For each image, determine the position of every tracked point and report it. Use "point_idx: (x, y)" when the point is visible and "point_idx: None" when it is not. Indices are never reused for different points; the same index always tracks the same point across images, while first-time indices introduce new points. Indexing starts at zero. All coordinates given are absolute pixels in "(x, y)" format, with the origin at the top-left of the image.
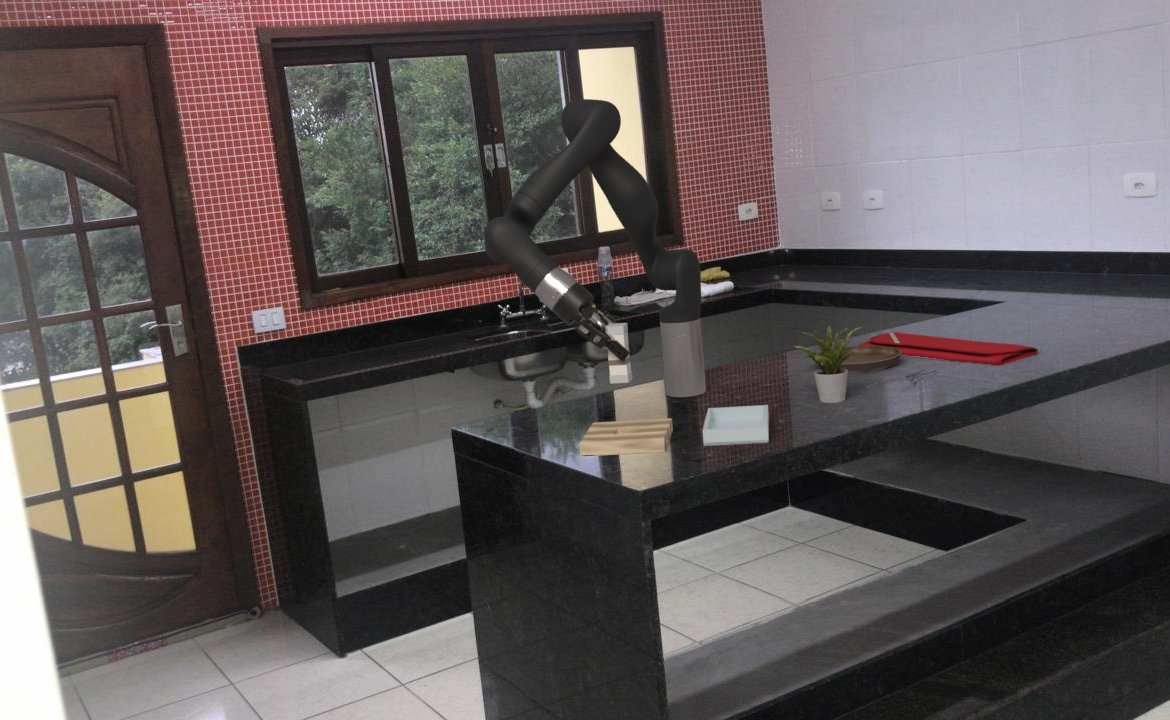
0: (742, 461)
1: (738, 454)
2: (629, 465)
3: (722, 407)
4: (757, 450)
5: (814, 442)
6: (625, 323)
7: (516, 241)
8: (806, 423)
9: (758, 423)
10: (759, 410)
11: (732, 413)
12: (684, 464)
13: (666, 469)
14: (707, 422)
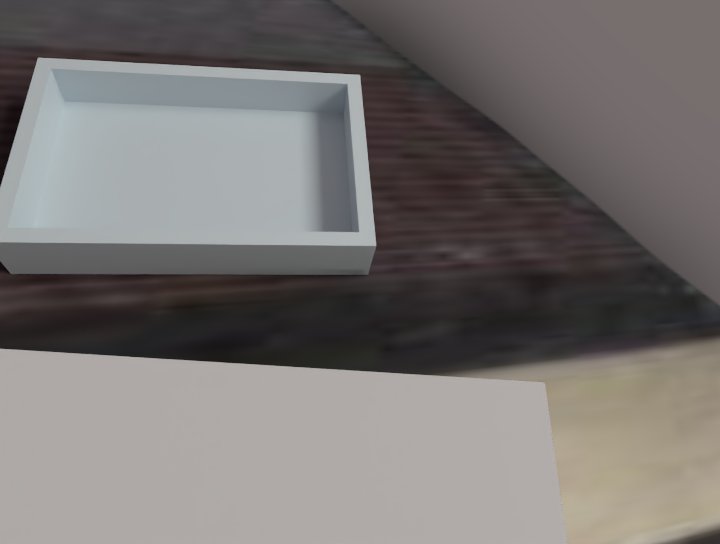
0: (537, 172)
1: (468, 180)
2: (614, 514)
3: (2, 190)
4: (429, 138)
5: (363, 27)
6: (104, 383)
7: None
8: (153, 23)
9: (144, 119)
10: (53, 93)
11: (34, 174)
12: (580, 318)
13: (639, 368)
14: (255, 234)
